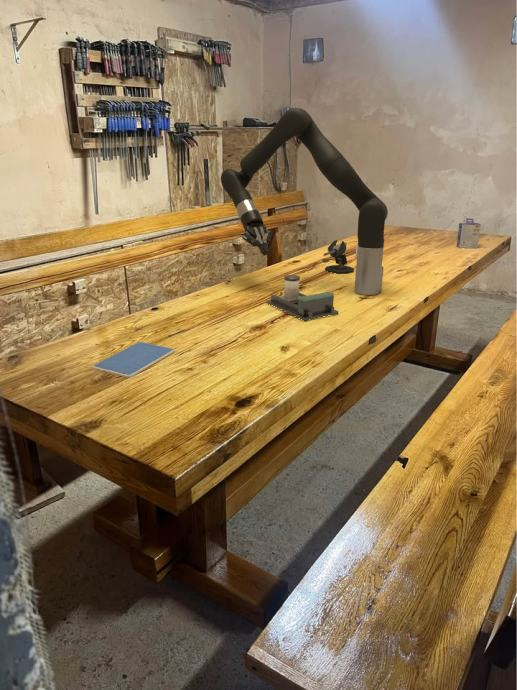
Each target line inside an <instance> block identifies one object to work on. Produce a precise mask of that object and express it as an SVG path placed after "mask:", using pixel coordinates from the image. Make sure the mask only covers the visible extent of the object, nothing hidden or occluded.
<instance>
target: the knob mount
mask: <svg viewBox="0 0 517 690" xmlns="http://www.w3.org/2000/svg"><path fill="white" fill-rule="evenodd" d="M299 296H301V297H298V303H292V302H290V301H288V300H285V299H283V298H281V297H279V296H278V295H276V294H271V295H270V299H269V300H266V303H268V304H267V305H269V304H270V305H269V306H271V305H273V306H275V307H277V308H279V309H282V310H283V311H286V312H288V313H290V314H292V315H294V316H296V317H298V318H300V319H302V320H309V319H313V320H315V319H314V318H318V317H323V316H328V315H333V316H335V315H334V314H337V315H339V313H340V312H339V311H338V310H336V309H335V306H334V301H335V299H334V298H335V294H334V293H332V292H329V291H326V292H319V293H315V294H309V295H306V294H304V293H302V292H299ZM273 306H272V307H273ZM275 307H274V308H275ZM277 308H276V309H277ZM279 309H278V310H279ZM283 311H282V312H283ZM294 316H293V317H294ZM296 317H295V318H296ZM328 317H329V316H328ZM298 318H297V319H298ZM323 318H324V317H323ZM300 319H299V320H300ZM318 319H319V318H318ZM302 320H301V321H302ZM309 321H310V320H309Z"/></svg>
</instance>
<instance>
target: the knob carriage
mask: <svg viewBox="0 0 517 690" xmlns="http://www.w3.org/2000/svg"><path fill="white" fill-rule="evenodd" d="M283 280H284V284H283V285H284V291H283V294H284V295H280V296H279V297H281V298H283V299H285V300H288V301H290V302H292V303H298V297H301V296H299V293H300V280H301V276H300V275H297V274H287V275H284V276H283Z"/></svg>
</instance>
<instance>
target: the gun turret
mask: <svg viewBox="0 0 517 690" xmlns="http://www.w3.org/2000/svg"><path fill="white" fill-rule="evenodd" d="M337 242H338V239H335V240H334V241H332V243H331V244H329V245H328V246H327V252H325V253H323V255H322V256H324V257H326V256H328V255H330V257H331V258H334V261H335V265H334V264H330V265H327V266H325V267H324V271H325V270H326V271H325V272H327V271H328V272H327V273H329V272H332V273H331V274H334V273H336V274H335V275H348V274H353V273H354V272H355V268H354V267H352V266H350V265H347V264H348V259H347V255H346V254H345V253H346V250H347V244H348V243H347V242H344V240H341V242H340V243H338V244H337Z"/></svg>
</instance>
